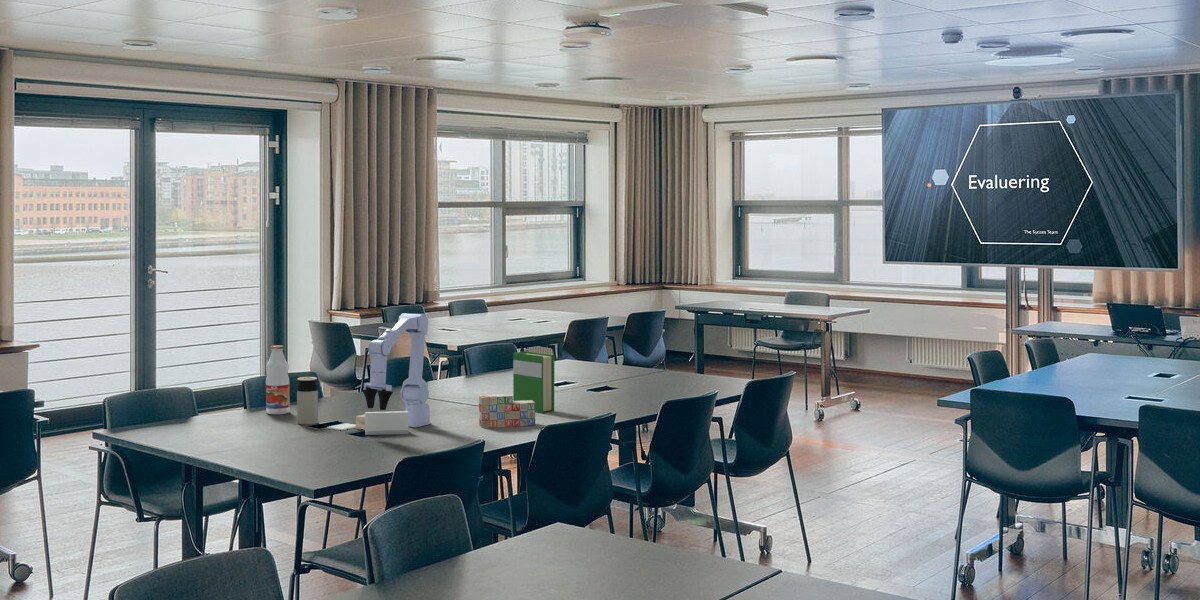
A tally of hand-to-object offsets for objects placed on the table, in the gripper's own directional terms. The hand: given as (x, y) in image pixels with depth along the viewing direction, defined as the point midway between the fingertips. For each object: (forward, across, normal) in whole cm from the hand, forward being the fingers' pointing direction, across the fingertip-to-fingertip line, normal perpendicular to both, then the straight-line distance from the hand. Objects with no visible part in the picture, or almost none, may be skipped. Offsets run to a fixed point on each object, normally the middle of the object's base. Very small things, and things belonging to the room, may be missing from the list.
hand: (376, 409), depth 422 cm
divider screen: (+10, -5, +9) cm, 14 cm away
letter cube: (+9, -19, +9) cm, 23 cm away
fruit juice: (+8, -73, +4) cm, 73 cm away
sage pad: (+9, -26, +4) cm, 28 cm away
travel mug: (+9, -44, -1) cm, 45 cm away
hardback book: (+3, -2, +83) cm, 83 cm away
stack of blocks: (+7, +16, +51) cm, 54 cm away
